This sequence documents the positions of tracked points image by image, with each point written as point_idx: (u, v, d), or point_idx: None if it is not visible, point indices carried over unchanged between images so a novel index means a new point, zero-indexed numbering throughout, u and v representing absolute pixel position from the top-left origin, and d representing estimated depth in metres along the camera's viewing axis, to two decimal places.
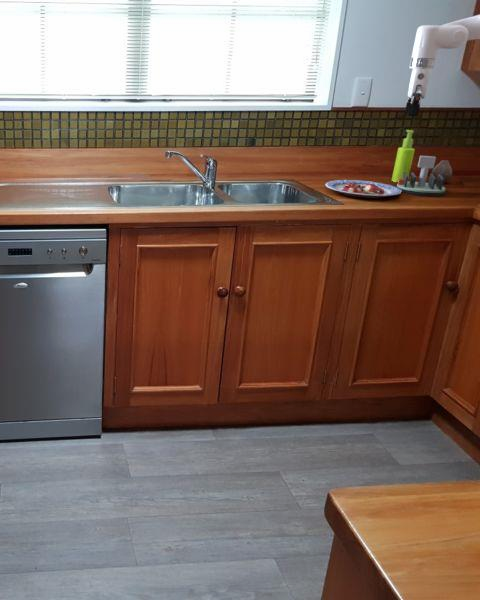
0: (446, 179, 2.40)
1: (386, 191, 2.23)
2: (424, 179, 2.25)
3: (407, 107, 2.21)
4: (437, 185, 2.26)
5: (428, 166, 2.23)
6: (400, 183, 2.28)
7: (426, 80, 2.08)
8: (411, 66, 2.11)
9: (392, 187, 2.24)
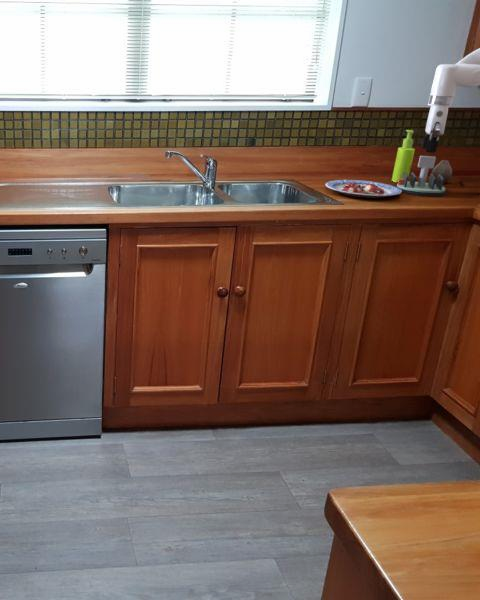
0: (446, 179, 2.40)
1: (386, 191, 2.23)
2: (424, 179, 2.25)
3: (424, 142, 2.25)
4: (437, 185, 2.26)
5: (428, 166, 2.23)
6: (400, 183, 2.28)
7: (445, 118, 2.12)
8: (430, 103, 2.15)
9: (392, 187, 2.24)
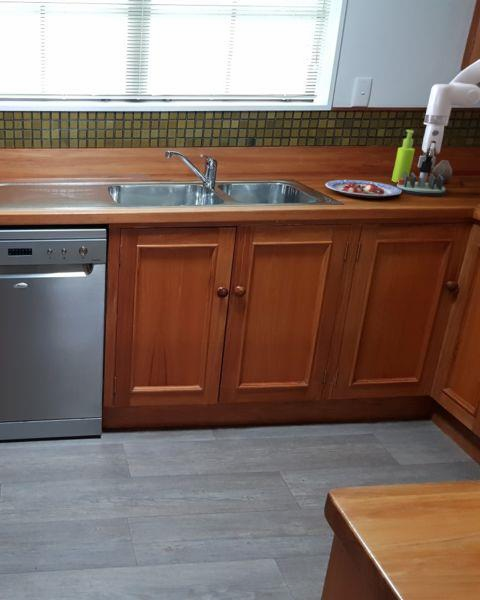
0: (446, 179, 2.40)
1: (386, 191, 2.23)
2: (424, 179, 2.25)
3: None
4: (437, 185, 2.26)
5: None
6: (400, 183, 2.28)
7: (440, 137, 2.15)
8: (426, 122, 2.18)
9: (392, 187, 2.24)
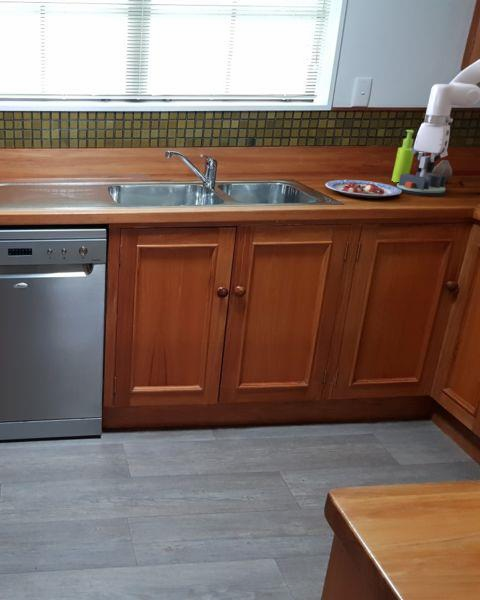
0: (446, 179, 2.40)
1: (386, 191, 2.23)
2: None
3: None
4: None
5: None
6: (411, 186, 2.23)
7: None
8: (436, 123, 2.15)
9: (392, 187, 2.24)
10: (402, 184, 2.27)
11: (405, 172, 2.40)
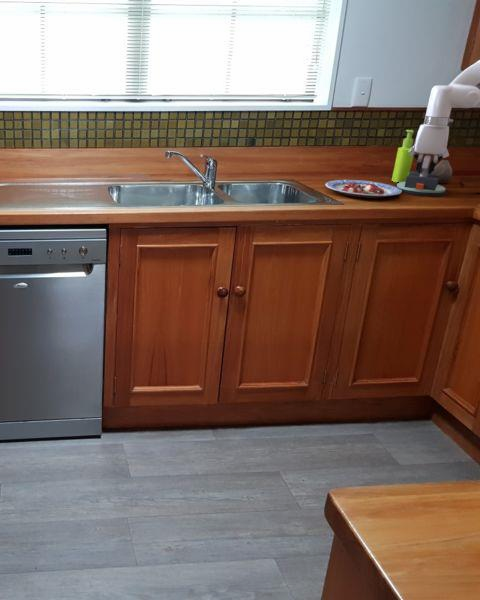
0: (446, 179, 2.40)
1: (386, 191, 2.23)
2: None
3: None
4: None
5: (428, 165, 2.24)
6: (423, 188, 2.21)
7: None
8: (442, 125, 2.15)
9: (392, 187, 2.24)
10: (409, 186, 2.24)
11: (405, 172, 2.40)
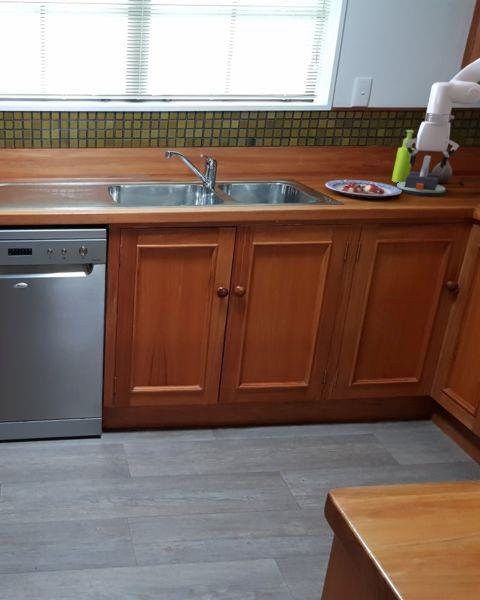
0: (446, 179, 2.40)
1: (386, 191, 2.23)
2: None
3: (414, 160, 2.24)
4: None
5: (428, 165, 2.24)
6: (423, 188, 2.21)
7: None
8: (443, 122, 2.14)
9: (392, 187, 2.24)
10: (409, 186, 2.24)
11: (405, 172, 2.40)
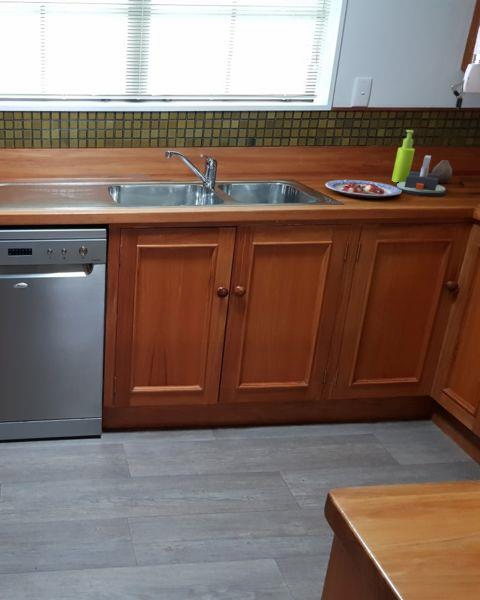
0: (446, 179, 2.40)
1: (386, 191, 2.23)
2: None
3: (461, 103, 2.23)
4: None
5: (428, 165, 2.24)
6: (423, 188, 2.21)
7: None
8: None
9: (392, 187, 2.24)
10: (409, 186, 2.24)
11: (405, 172, 2.40)
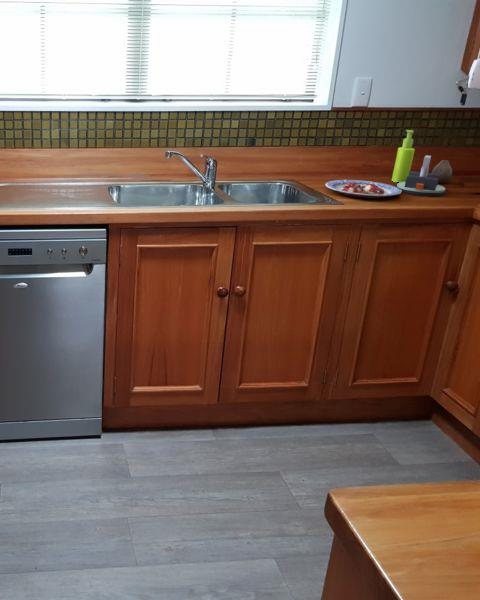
0: (446, 179, 2.40)
1: (386, 191, 2.23)
2: None
3: (465, 99, 2.24)
4: None
5: (428, 165, 2.24)
6: (423, 188, 2.21)
7: None
8: None
9: (392, 187, 2.24)
10: (409, 186, 2.24)
11: (405, 172, 2.40)
